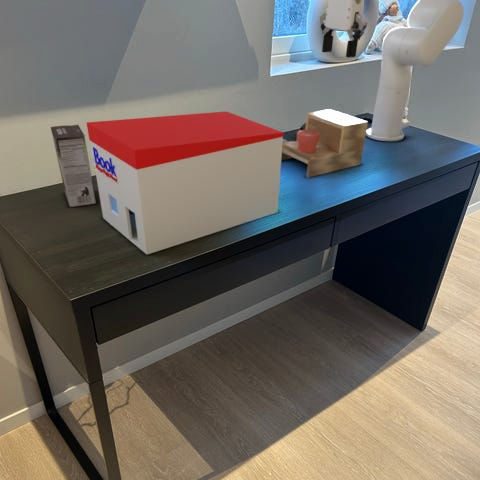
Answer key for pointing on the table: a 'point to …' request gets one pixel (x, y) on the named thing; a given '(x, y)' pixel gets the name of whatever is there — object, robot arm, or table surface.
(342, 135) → the wooden step block
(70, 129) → the coffee box
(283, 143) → the soldier figure
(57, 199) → the table surface
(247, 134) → the bookstore
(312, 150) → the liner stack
